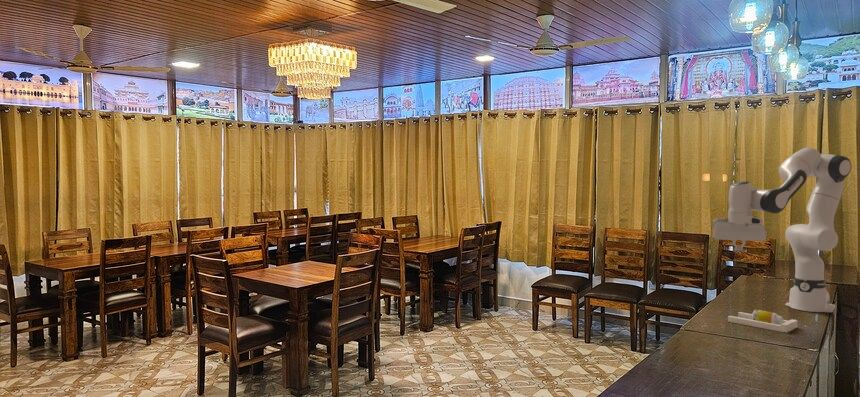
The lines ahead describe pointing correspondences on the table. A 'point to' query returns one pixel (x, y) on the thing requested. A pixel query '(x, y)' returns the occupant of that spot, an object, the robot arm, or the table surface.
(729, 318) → the u rest
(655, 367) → the table surface
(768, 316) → the supplement bottle
